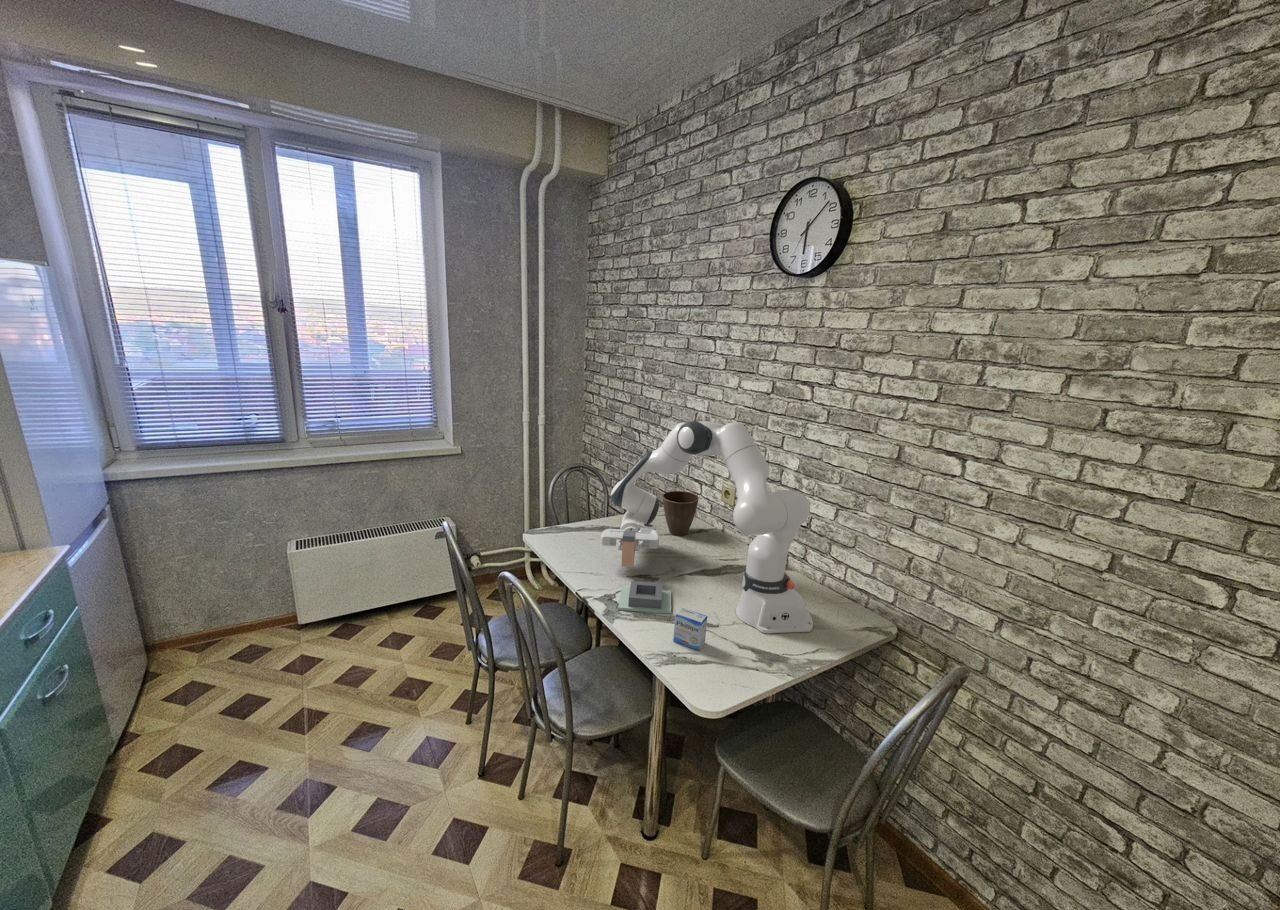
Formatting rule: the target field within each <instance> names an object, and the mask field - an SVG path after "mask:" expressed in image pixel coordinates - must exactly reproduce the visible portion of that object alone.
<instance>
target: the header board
mask: <svg viewBox="0 0 1280 910" xmlns="http://www.w3.org/2000/svg"><path fill="white" fill-rule="evenodd" d="M617 609H618V610H619V611H629V612H630V611H631V612H641V613H642V612H643V613H655V614H657V613H658V614H667V615H668V614H669V615H670V614H672V590H666V589H663V583H661V582H650V581H637V580H636V581H635V580H631V581H630V587H624V586H622V587H621V591H620V596H619V600H618V605H617Z"/></svg>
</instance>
